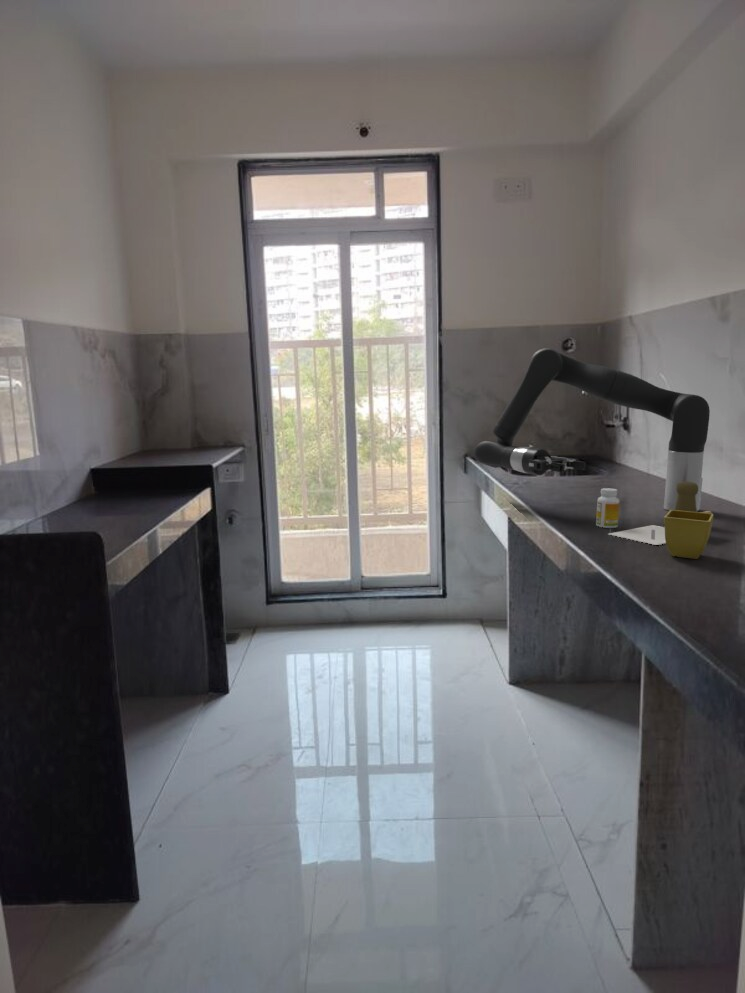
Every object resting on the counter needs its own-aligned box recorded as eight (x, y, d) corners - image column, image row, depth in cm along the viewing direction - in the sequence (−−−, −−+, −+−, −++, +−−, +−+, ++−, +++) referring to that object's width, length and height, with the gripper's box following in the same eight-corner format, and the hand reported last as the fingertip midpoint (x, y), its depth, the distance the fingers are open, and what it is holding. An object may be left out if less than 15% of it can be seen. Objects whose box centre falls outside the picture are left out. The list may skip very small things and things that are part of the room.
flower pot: (706, 563, 135) (710, 520, 134) (660, 557, 140) (663, 516, 138) (710, 554, 143) (714, 513, 141) (667, 548, 147) (670, 509, 146)
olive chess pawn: (699, 526, 170) (703, 484, 168) (674, 525, 171) (678, 483, 169) (693, 521, 175) (697, 480, 174) (669, 520, 177) (672, 480, 175)
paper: (652, 526, 170) (652, 524, 170) (700, 535, 159) (700, 534, 159) (608, 534, 160) (608, 533, 160) (655, 546, 149) (656, 544, 149)
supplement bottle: (621, 526, 170) (624, 489, 168) (611, 529, 166) (614, 491, 164) (601, 523, 174) (604, 486, 172) (592, 526, 170) (594, 489, 168)
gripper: (512, 448, 185) (557, 454, 172) (547, 446, 193) (593, 452, 180) (511, 474, 187) (555, 483, 173) (546, 471, 194) (590, 479, 181)
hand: (574, 467), depth 177 cm, fingers open, 8 cm apart
